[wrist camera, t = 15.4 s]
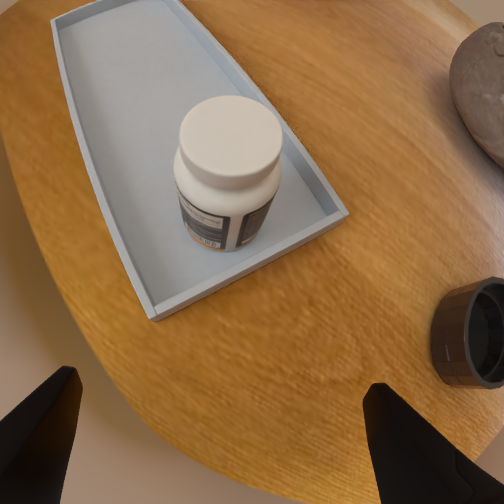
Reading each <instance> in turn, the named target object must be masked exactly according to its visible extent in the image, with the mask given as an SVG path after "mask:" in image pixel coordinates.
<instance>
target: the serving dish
mask: <svg viewBox="0 0 504 504" xmlns="http://www.w3.org/2000/svg"><path fill="white" fill-rule="evenodd" d="M51 26H52V32H53V38H54V44H55V49H56V55H57V60H58V65H59V69H60V74H61V78H62V83H63V87H64V91H65V95H66V99H67V103H68V107H69V111H70V115H71V119H72V122H73V126H74V129H75V133H76V136H77V140H78V143H79V146H80V150H81V153H82V156H83V159H84V162H85V165H86V168H87V171H88V174H89V177H90V180H91V183H92V186H93V189H94V192H95V194H96V197H97V200H98V203H99V205H100V208H101V211H102V213H103V216H104V219H105V221H106V224H107V226H108V229H109V231H110V234H111V236H112V239H113V241H114V244H115V246H116V249H117V251H118V253H119V256H120V258H121V260H122V263H123V265H124V267H125V270H126V272H127V274H128V276H129V278H130V281H131V283H132V285H133V287H134V289H135V292H136V294H137V296H138V298H139V300H140V302H141V304H142V306H143V308H144V310H145V312H146V315H147V317H148V319H149V320H152V321H154V322H158V321H159V320H161V319H163V318H165V317H167V316H169V315H171V314H173V313H175V312H177V311H179V310H181V309H183V308H185V307H187V306H188V305H190V304H192V303H194V302H196V301H198V300H200V299H202V298H204V297H206V296H208V295H210V294H211V293H213V292H215V291H217V290H219V289H221V288H223V287H225V286H227V285H229V284H230V283H232V282H234V281H236V280H238V279H240V278H242V277H244V276H246V275H247V274H249V273H251V272H253V271H255V270H257V269H259V268H261V267H262V266H264V265H266V264H268V263H270V262H272V261H274V260H276V259H277V258H279V257H281V256H283V255H285V254H287V253H289V252H290V251H292V250H294V249H296V248H298V247H300V246H302V245H303V244H305V243H307V242H309V241H311V240H313V239H314V238H316V237H318V236H320V235H322V234H324V233H325V232H327V231H329V230H331V229H333V228H335V227H336V226H338V225H339V224H340V223H341V222H342V221H343V220H344V219H345V218H346V217H347V216H348V215H349V212H348V210H347V209H346V207H345V206H344V204H343V203H342V201H341V199H340V198H339V196H338V195H337V193H336V192H335V190H334V189H333V188H332V186H331V185H330V183H329V182H328V180H327V179H326V177H325V176H324V174H323V173H322V171H321V170H320V169H319V167H318V166H317V164H316V163H315V162H314V160H313V159H312V157H311V156H310V155H309V153H308V152H307V150H306V149H305V148H304V146H303V145H302V144H301V142H300V141H299V139H298V138H297V137H296V135H295V134H294V133H293V131H292V130H291V129H290V127H289V126H288V125H287V123H286V122H285V121H284V120H283V118H282V117H281V116H280V114H279V113H278V112H277V111H276V109H275V108H274V107H273V105H272V104H271V103H270V102H269V100H268V99H267V98H266V97H265V95H264V94H263V93H262V92H261V91H260V89H259V88H258V87H257V86H256V84H255V83H254V82H253V81H252V80H251V78H250V77H249V76H248V75H247V74H246V73H245V71H244V70H243V69H242V68H241V67H240V66H239V64H238V63H237V62H236V61H235V60H234V59H233V57H232V56H231V55H230V54H229V53H228V52H227V51H226V50H225V48H224V47H223V46H222V45H221V44H220V43H219V42H218V41H217V40H216V39H215V37H214V36H213V35H212V34H211V33H210V32H209V31H208V30H207V29H206V28H205V27H204V26H203V25H202V24H201V22H200V21H199V20H198V19H197V18H196V17H195V16H194V15H193V14H192V13H191V12H190V11H189V10H188V9H187V8H186V7H185V6H184V5H183V4H182V3H181V2H180V1H179V0H97V1H94V2H92V3H89V4H86V5H84V6H81V7H79V8H77V9H74V10H72V11H69V12H67V13H65V14H63V15H60V16H58V17H56V18H54V19H52V20H51ZM225 95H235V96H242V97H246V98H250V99H253V100H255V101H257V102H259V103H261V104H263V105H264V106H266V107H267V108H268V109H269V110H271V111H272V112H273V114H274V115H275V116H276V117H277V119H278V120H279V122H280V124H281V127H282V130H283V147H282V151H281V154H280V160H281V165H282V176H281V182H280V185H279V188H278V190H277V192H276V195H275V197H274V199H273V201H272V204H271V206H270V208H269V211H268V213H267V216H266V218H265V220H264V222H263V224H262V226H261V228H260V230H259V232H258V234H257V235H256V237H255V238H254V239H253V240H252V241H251V242H250V243H248V244H247V245H245V246H244V247H242V248H240V249H237V250H234V251H228V252H218V251H213V250H209V249H207V248H205V247H203V246H201V245H199V244H198V243H197V242H195V241H194V240H193V239H192V238H191V236H190V235H189V234H188V232H187V230H186V228H185V226H184V223H183V219H182V214H181V209H180V203H179V198H178V193H177V188H176V183H175V179H174V174H173V164H174V158H175V154H176V151H177V149H178V147H179V131H180V127H181V124H182V121H183V119H184V118H185V116H186V115H187V113H188V112H189V111H190V110H191V109H192V108H193V107H195V106H196V105H198V104H199V103H201V102H203V101H205V100H207V99H210V98H213V97H217V96H225Z"/></svg>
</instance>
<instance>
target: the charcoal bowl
mask: <svg viewBox="0 0 504 504" xmlns="http://www.w3.org/2000/svg"><path fill="white" fill-rule="evenodd" d="M430 345H431V352H432V358H433V363H434V365H435V367H436V369H437V371H438V373H439V375H440V377H441V378H442V379H443V380H444V381H445V382H446V383H447V384H449V385H451V386H454V387H457V388H469V389H496V388H500V387H502V386H503V385H504V279H502V278H497V277H490V278H487V279H484V280H481V281H478V282H475V283H472V284H469V285H466V286H463V287H460V288H457V289H454V290H452V291H451V292H450V293H449V294H447V295H446V296H445V297H444V298H443V300H442V301H441V303H440V304H439V306H438V308H437V310H436V312H435V315H434V319H433V323H432V326H431V344H430Z"/></svg>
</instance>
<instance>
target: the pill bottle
mask: <svg viewBox="0 0 504 504" xmlns="http://www.w3.org/2000/svg"><path fill="white" fill-rule="evenodd" d="M282 147H283V130H282V127H281V124H280V122H279V120H278V119H277V117H276V116H275V115H274V114H273V112H272V111H271V110H269V109H268V108H267V107H266V106H264V105H263V104H261V103H259V102H257V101H255V100H253V99H250V98H246V97H242V96H235V95H225V96H217V97H213V98H210V99H207V100H205V101H203V102H201V103H199V104H198V105H196V106H195V107H193V108H192V109H191V110H190V111H189V112H188V113H187V115H186V116H185V118H184V119H183V121H182V124H181V127H180V131H179V147H178V149H177V151H176V154H175V158H174V164H173V174H174V179H175V183H176V188H177V193H178V198H179V203H180V209H181V214H182V219H183V223H184V226H185V228H186V230H187V232H188V234H189V235H190V236H191V238H192V239H193V240H194V241H195V242H197V243H198V244H199V245H201V246H203V247H205V248H207V249H209V250H213V251H218V252H228V251H234V250H237V249H240V248H242V247H244V246H245V245H247V244H248V243H250V242H251V241H252V240H253V239H254V238H255V237H256V235H257V234H258V232H259V230H260V228H261V226H262V224H263V222H264V220H265V218H266V216H267V213H268V211H269V208H270V206H271V204H272V201H273V199H274V197H275V195H276V192H277V190H278V188H279V185H280V182H281V176H282V165H281V160H280V154H281V151H282Z"/></svg>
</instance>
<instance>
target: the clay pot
mask: <svg viewBox="0 0 504 504" xmlns="http://www.w3.org/2000/svg"><path fill="white" fill-rule="evenodd" d="M450 90H451V95H452V99H453V101H454V104H455V106H456V108H457V110H458V113H459V115H460V117H461V118H462V120H463V122H464V124H465V126H466V127H467V129H468V130H469V132H470V134H471V135H472V137H473V138H474V139H475V141H476V142H477V143H478V144H479V145H480V146H481V148H482V149H483V150H484V151H485V152H486V153H487V154H488V155H489V156H490V157H491V158H492V159H493V160H494V161H495V162H496V163H497V164H498V165H500V166H501V167H502V168H503V169H504V23H502V22H494V23H489V24H487V25H485V26H482V27H481V28H479V29H478V30H476V31H475V32H473V33H472V34H471V35H470V36H469V37H467V38H466V39H465V40H464V41H463V42H462V43H461V45H460V46H459V47H458V49H457V51H456V53H455V55H454V57H453V60H452V63H451V66H450Z"/></svg>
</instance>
